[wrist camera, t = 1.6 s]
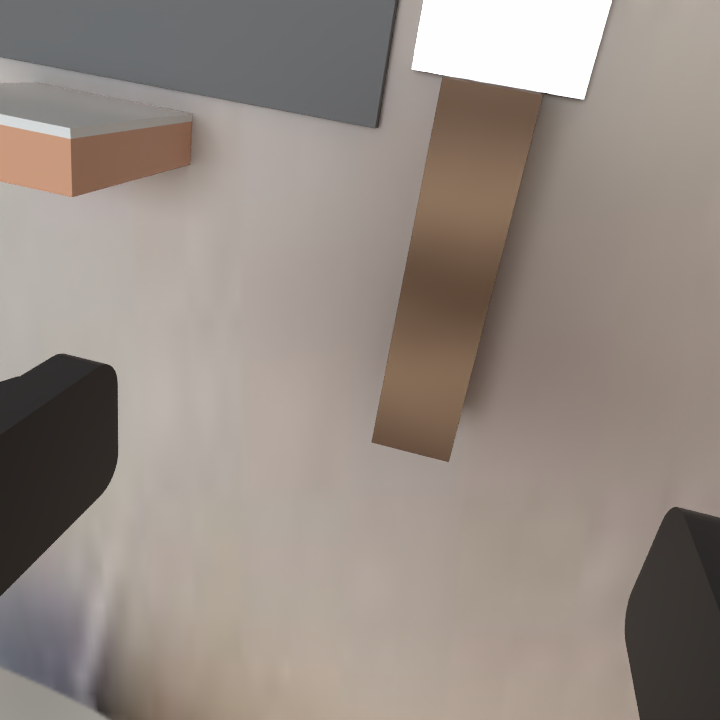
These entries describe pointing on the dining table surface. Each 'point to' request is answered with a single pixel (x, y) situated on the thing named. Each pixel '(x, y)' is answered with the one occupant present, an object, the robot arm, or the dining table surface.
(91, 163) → the tile
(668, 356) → the dining table surface
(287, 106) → the mat
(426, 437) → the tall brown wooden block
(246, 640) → the dining table surface
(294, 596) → the dining table surface
